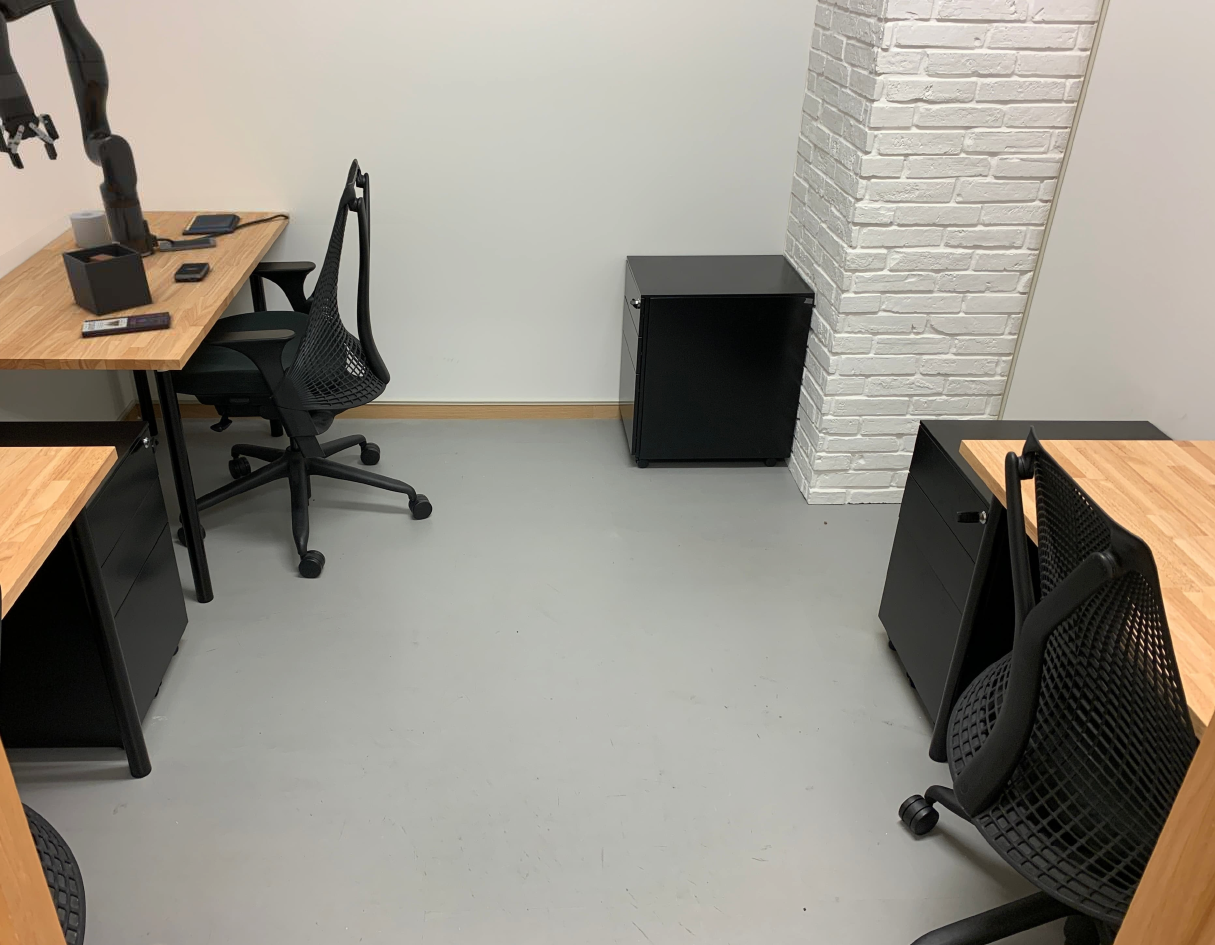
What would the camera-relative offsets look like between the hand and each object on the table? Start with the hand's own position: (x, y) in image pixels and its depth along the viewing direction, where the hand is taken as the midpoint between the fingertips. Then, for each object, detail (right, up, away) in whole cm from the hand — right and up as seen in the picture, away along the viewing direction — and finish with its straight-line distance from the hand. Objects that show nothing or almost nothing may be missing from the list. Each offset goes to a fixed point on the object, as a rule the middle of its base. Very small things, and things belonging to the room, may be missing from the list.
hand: (37, 164), depth 227 cm
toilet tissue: (-13, -7, +49) cm, 51 cm away
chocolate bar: (+29, -42, -13) cm, 53 cm away
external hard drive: (+29, -23, +21) cm, 43 cm away
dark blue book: (+15, +2, +66) cm, 68 cm away
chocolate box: (+18, -34, +1) cm, 38 cm away
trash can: (+18, -34, +2) cm, 39 cm away
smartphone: (+16, -9, +47) cm, 50 cm away
